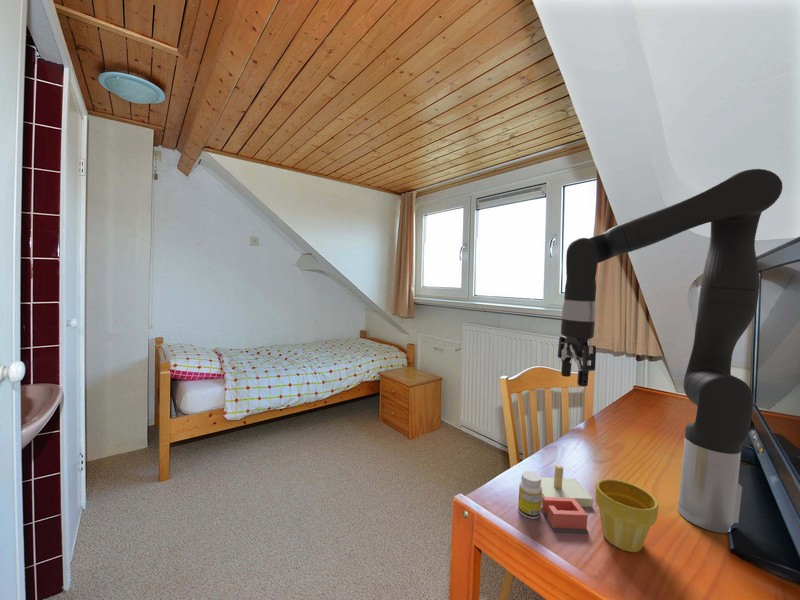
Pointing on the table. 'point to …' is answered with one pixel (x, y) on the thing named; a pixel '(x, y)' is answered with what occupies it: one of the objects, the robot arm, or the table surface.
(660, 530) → the table surface
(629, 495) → the plant pot
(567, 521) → the c link
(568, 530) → the coaster
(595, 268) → the robot arm
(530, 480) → the supplement bottle
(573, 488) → the stand
